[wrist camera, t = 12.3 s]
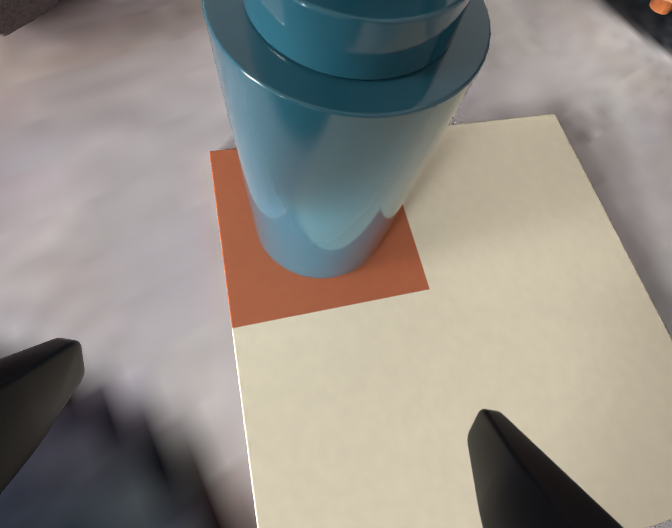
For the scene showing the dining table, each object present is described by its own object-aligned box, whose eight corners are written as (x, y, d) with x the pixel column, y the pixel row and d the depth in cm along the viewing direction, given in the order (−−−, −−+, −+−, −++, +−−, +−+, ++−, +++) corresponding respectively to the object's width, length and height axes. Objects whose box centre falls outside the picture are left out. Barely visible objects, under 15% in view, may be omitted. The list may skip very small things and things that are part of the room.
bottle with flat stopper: (397, 266, 16) (679, -71, 4) (264, 289, 15) (159, -73, 3) (366, 156, 18) (502, -287, 6) (245, 170, 17) (135, -333, 5)
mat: (739, 487, 15) (750, 490, 15) (275, 658, 12) (275, 667, 11) (550, 118, 21) (555, 113, 21) (210, 156, 18) (208, 150, 17)
